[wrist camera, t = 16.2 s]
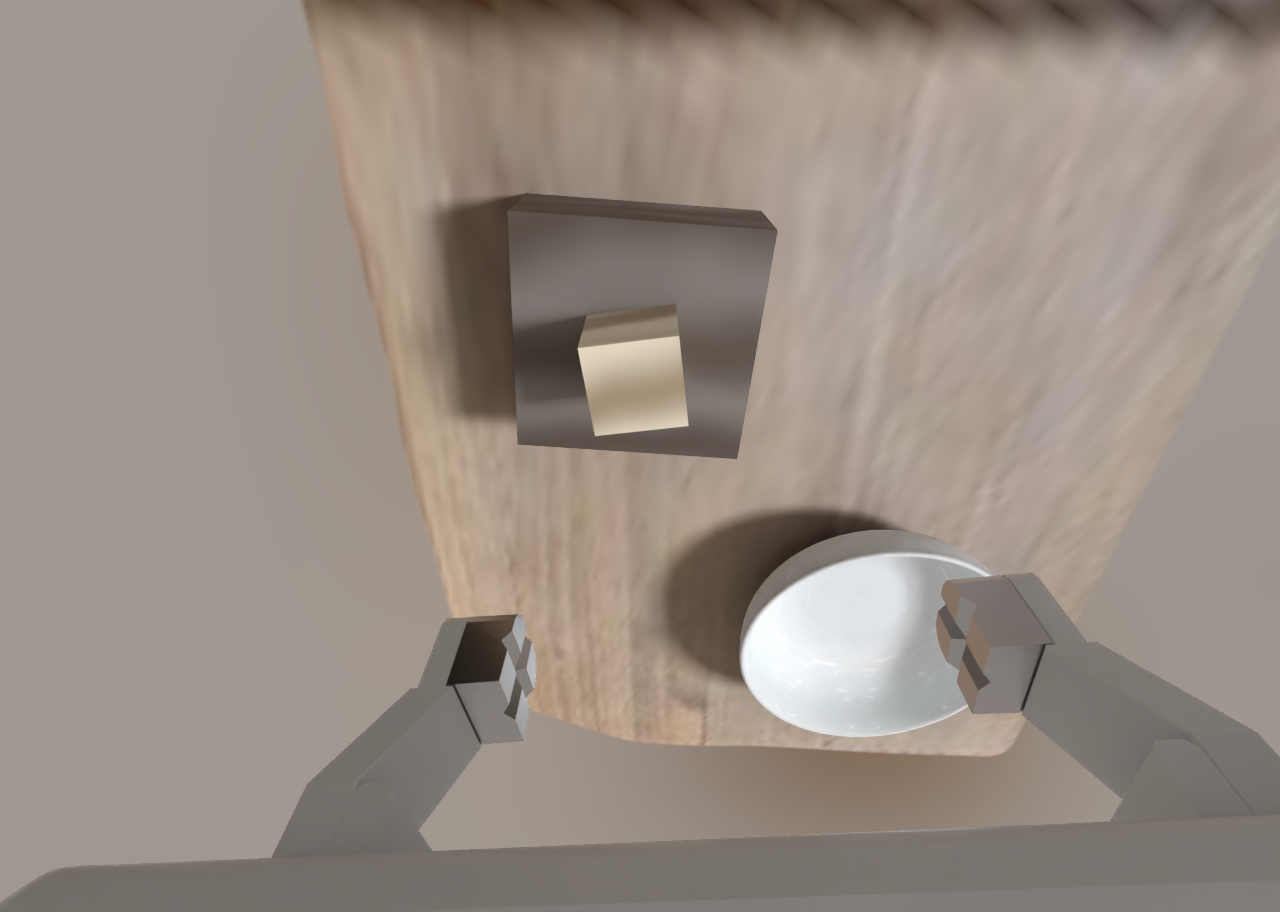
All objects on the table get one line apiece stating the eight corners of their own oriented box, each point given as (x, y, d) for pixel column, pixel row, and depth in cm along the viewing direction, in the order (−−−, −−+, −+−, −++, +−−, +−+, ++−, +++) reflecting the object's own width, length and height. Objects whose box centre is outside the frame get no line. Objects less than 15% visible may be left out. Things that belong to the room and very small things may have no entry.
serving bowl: (730, 501, 48) (741, 560, 42) (1006, 487, 46) (1057, 546, 40) (730, 677, 58) (738, 743, 53) (953, 669, 57) (987, 736, 51)
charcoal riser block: (527, 192, 36) (507, 210, 31) (760, 209, 37) (777, 230, 31) (533, 402, 44) (517, 444, 39) (727, 415, 44) (737, 458, 39)
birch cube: (587, 315, 34) (577, 348, 30) (675, 303, 34) (679, 335, 29) (601, 395, 37) (595, 436, 32) (684, 385, 36) (688, 425, 32)
